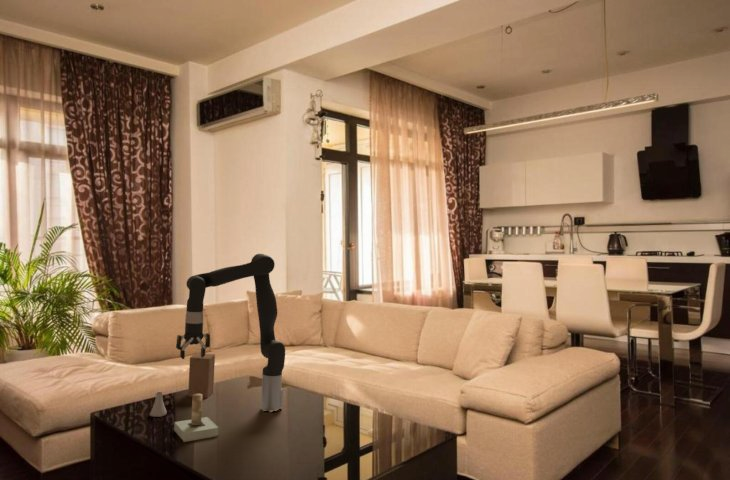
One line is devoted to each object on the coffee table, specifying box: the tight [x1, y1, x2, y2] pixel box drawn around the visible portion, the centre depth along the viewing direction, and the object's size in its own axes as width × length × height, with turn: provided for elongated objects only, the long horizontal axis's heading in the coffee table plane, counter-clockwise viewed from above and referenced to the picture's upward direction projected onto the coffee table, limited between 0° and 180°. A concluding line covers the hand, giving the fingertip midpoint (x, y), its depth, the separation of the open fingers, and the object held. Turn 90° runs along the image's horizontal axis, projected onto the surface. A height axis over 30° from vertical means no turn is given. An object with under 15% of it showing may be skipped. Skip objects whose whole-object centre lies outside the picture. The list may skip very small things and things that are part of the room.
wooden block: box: [187, 352, 216, 399], centre depth 278 cm, size 10×10×20 cm
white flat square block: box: [173, 416, 220, 443], centre depth 227 cm, size 14×14×4 cm
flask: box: [149, 391, 168, 418], centre depth 247 cm, size 7×7×10 cm
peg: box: [190, 394, 203, 428], centre depth 227 cm, size 4×4×16 cm
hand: (192, 357), depth 240 cm, fingers open, 8 cm apart
